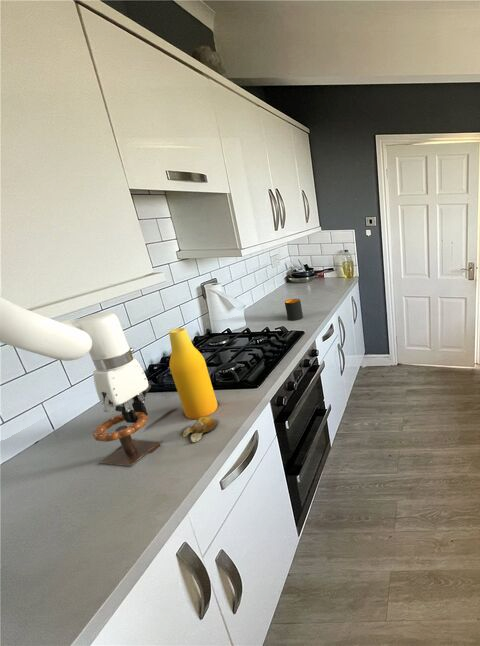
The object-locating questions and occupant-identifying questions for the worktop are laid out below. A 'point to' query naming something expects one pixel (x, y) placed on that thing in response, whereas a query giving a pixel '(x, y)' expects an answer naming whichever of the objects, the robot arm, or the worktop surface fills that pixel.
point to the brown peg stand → (130, 450)
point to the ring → (107, 437)
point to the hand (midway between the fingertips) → (137, 418)
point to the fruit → (200, 428)
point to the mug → (293, 309)
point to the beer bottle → (191, 376)
